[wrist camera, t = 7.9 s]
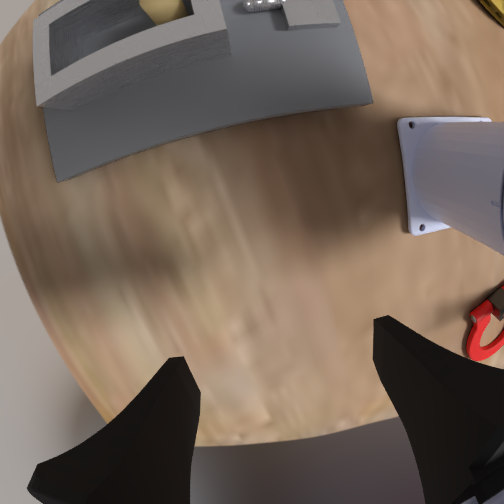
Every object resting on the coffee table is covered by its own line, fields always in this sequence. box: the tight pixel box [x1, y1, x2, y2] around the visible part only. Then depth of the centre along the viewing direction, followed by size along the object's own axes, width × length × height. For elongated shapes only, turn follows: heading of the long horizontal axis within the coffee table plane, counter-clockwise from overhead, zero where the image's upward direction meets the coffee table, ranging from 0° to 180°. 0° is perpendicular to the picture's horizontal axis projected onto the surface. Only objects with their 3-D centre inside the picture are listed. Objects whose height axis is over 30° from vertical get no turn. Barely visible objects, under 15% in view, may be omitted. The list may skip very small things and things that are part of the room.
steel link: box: [33, 0, 232, 111], centre depth 11 cm, size 10×6×4 cm, turn 102°
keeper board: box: [39, 0, 373, 183], centre depth 11 cm, size 20×14×6 cm
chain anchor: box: [243, 0, 341, 31], centre depth 12 cm, size 5×4×1 cm
